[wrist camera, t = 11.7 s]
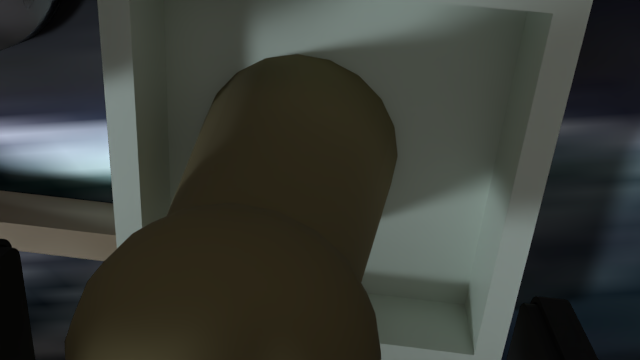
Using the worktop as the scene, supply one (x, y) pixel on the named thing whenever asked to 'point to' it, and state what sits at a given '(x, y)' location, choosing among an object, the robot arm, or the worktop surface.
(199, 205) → the brown rounded lump
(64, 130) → the worktop surface
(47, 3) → the grey pedestal stand
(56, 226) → the socket
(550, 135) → the tray
